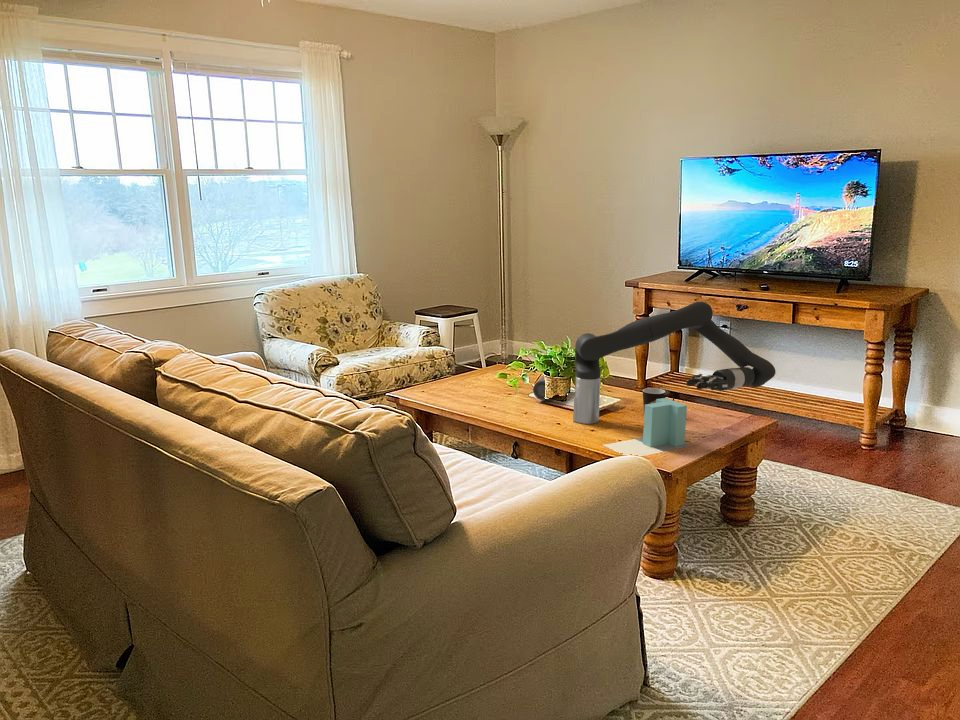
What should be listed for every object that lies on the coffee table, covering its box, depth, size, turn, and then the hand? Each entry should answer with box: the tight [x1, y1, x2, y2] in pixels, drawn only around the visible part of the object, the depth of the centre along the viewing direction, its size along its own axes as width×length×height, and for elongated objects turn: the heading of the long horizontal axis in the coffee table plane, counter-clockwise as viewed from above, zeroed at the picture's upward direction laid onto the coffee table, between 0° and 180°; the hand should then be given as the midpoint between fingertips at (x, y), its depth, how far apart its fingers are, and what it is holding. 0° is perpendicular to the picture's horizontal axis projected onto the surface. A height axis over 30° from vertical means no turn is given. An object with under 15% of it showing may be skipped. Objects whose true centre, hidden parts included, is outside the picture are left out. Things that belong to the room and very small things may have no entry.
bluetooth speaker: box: [532, 376, 546, 401], centre depth 332 cm, size 23×9×10 cm, turn 157°
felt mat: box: [602, 436, 691, 457], centre depth 270 cm, size 26×15×1 cm, turn 118°
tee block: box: [642, 397, 688, 447], centre depth 271 cm, size 12×11×14 cm
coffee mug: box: [642, 387, 675, 412], centre depth 305 cm, size 12×9×10 cm
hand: (692, 384), depth 274 cm, fingers open, 4 cm apart
